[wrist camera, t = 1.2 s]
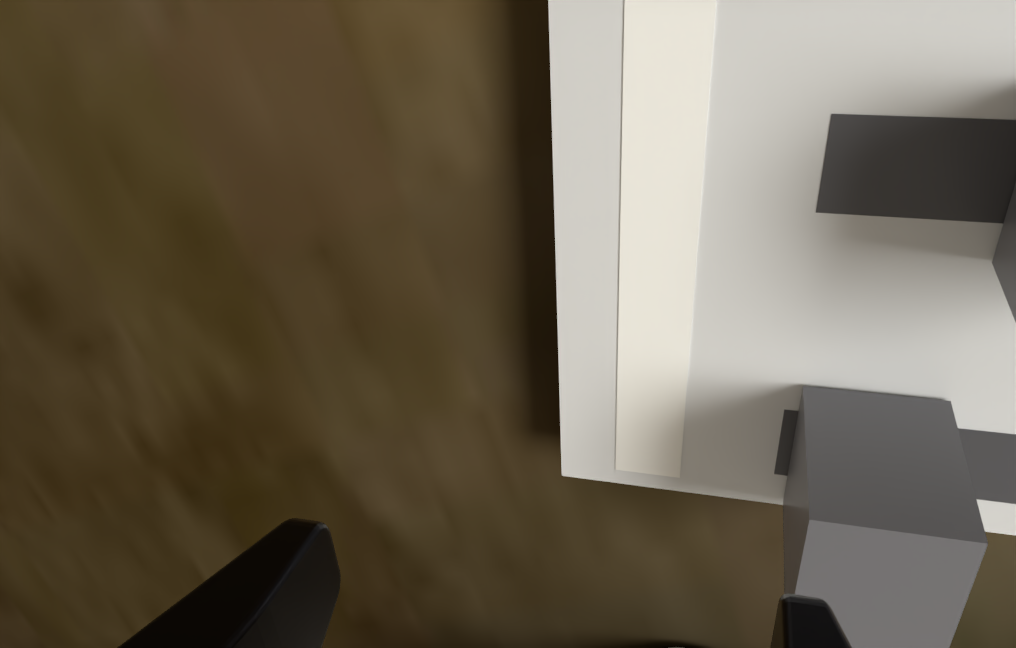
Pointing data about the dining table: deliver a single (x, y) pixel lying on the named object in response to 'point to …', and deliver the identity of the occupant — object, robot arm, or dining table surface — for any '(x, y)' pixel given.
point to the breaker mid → (1007, 255)
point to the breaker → (881, 516)
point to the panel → (778, 230)
